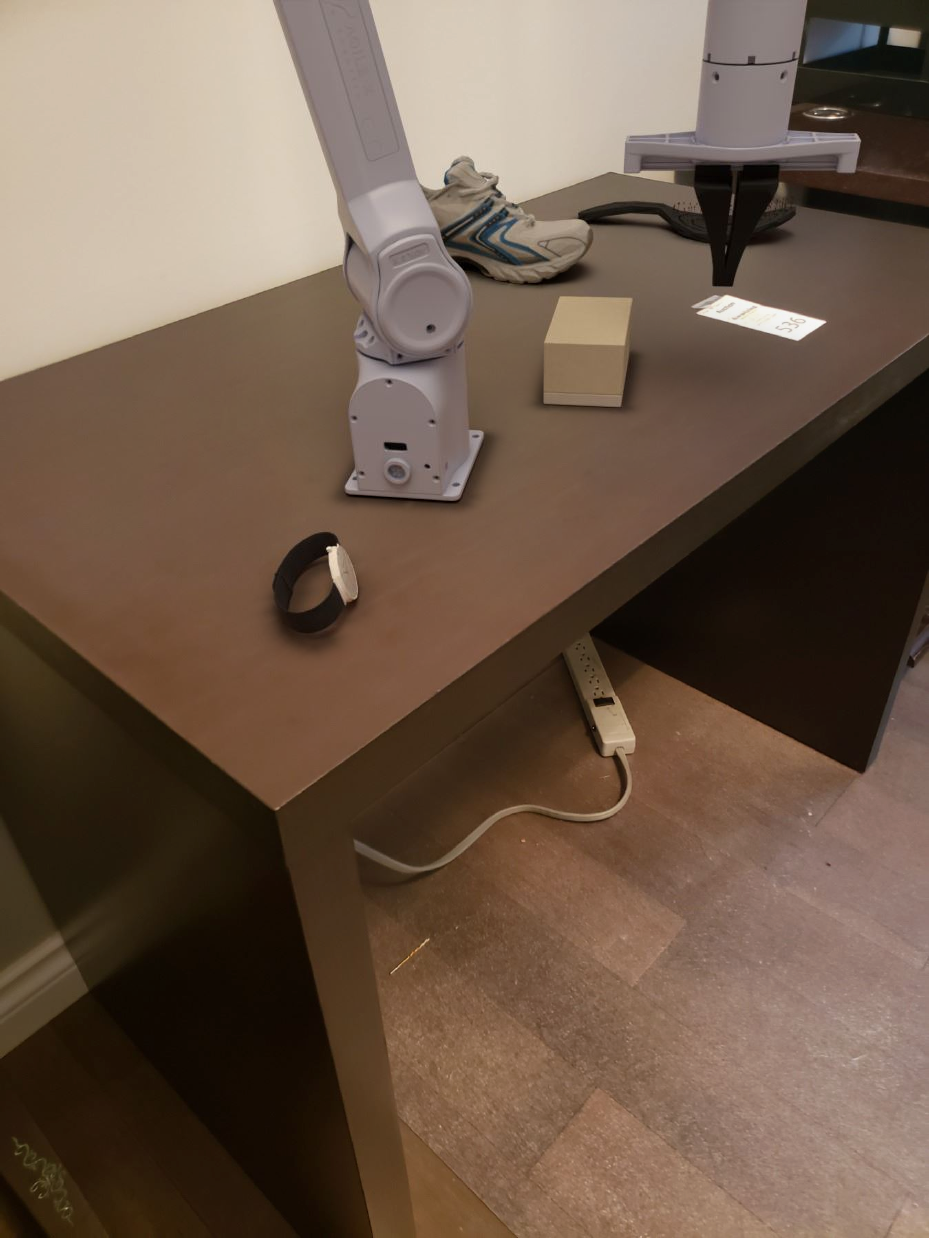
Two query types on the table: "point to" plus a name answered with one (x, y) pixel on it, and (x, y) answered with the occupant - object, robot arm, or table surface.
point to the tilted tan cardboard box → (587, 351)
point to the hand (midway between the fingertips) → (722, 282)
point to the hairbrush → (687, 217)
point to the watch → (341, 576)
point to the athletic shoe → (501, 229)
